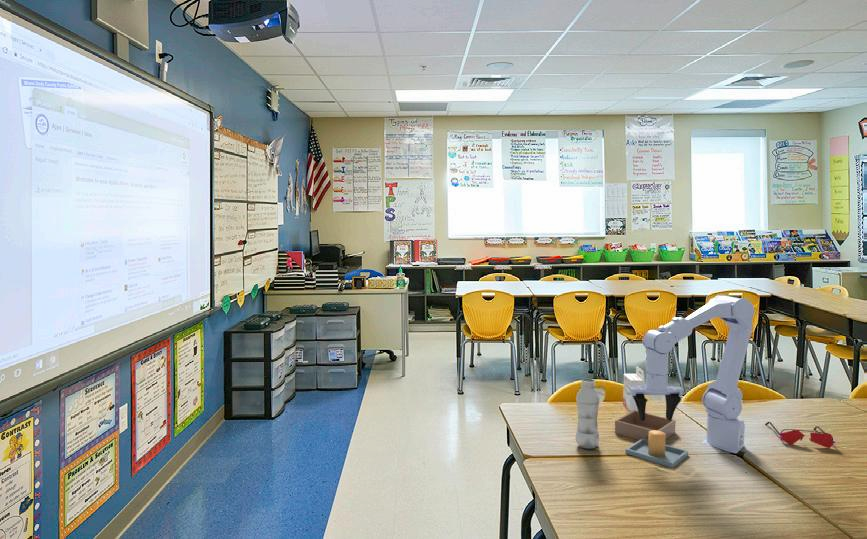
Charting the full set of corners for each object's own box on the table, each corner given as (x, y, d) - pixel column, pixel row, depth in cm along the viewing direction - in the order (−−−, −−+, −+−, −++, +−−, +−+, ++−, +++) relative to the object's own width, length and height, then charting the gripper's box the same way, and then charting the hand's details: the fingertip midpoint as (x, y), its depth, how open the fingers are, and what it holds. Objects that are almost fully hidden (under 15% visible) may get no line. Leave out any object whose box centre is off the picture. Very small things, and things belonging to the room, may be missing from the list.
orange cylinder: (667, 454, 149) (668, 433, 149) (661, 458, 146) (661, 437, 145) (652, 449, 152) (652, 429, 152) (645, 454, 149) (645, 433, 149)
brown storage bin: (675, 434, 164) (675, 420, 164) (657, 447, 155) (657, 432, 155) (633, 423, 174) (634, 410, 173) (614, 434, 165) (615, 420, 164)
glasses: (779, 445, 157) (780, 428, 157) (764, 425, 173) (765, 410, 172) (835, 451, 153) (836, 434, 152) (814, 430, 168) (815, 415, 168)
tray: (688, 457, 148) (688, 451, 148) (672, 469, 141) (672, 463, 140) (642, 443, 157) (642, 438, 157) (625, 455, 150) (625, 449, 150)
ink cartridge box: (621, 405, 192) (622, 365, 191) (635, 405, 192) (636, 365, 191) (630, 413, 184) (631, 371, 182) (644, 413, 183) (645, 371, 182)
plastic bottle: (600, 452, 152) (601, 384, 150) (575, 450, 153) (577, 382, 151) (598, 443, 158) (599, 377, 156) (574, 441, 159) (575, 376, 158)
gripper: (675, 368, 155) (674, 414, 156) (626, 369, 155) (625, 414, 156) (687, 375, 148) (685, 423, 149) (635, 376, 148) (634, 423, 149)
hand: (655, 419), depth 152 cm, fingers open, 7 cm apart
